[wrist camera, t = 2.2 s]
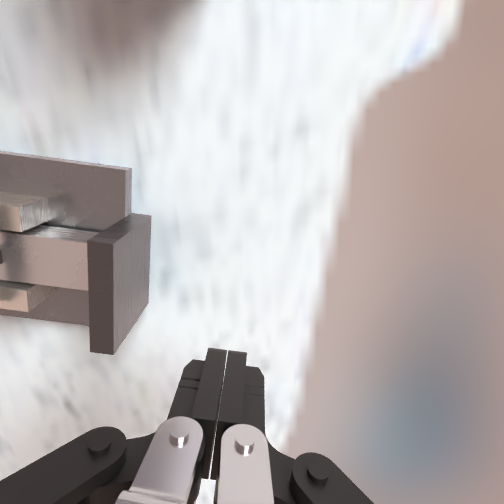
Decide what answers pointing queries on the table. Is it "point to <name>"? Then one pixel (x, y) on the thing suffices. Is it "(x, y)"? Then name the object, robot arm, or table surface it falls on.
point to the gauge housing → (57, 221)
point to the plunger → (88, 270)
